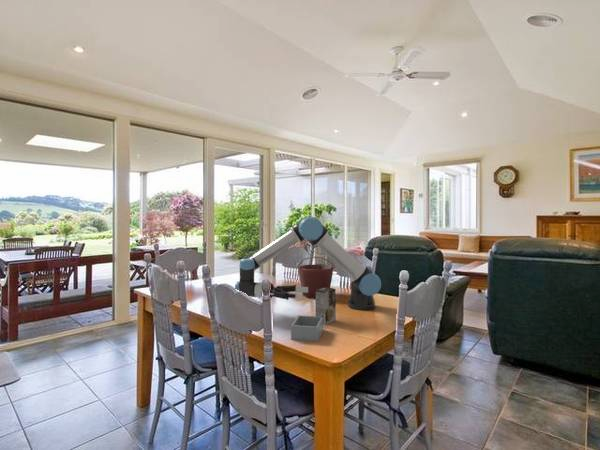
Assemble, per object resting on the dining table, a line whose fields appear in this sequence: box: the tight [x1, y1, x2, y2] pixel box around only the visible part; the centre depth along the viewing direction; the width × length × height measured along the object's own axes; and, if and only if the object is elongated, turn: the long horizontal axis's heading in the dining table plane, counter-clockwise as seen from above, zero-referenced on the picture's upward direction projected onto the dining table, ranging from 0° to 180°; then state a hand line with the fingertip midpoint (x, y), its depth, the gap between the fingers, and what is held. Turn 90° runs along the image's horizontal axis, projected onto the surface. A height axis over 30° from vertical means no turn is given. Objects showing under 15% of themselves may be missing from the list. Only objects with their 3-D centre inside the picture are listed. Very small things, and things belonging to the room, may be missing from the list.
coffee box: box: [314, 287, 337, 326], centre depth 174 cm, size 9×6×16 cm
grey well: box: [290, 315, 324, 342], centre depth 156 cm, size 12×15×6 cm
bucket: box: [295, 256, 336, 299], centre depth 227 cm, size 24×22×25 cm
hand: (305, 292), depth 176 cm, fingers open, 13 cm apart
